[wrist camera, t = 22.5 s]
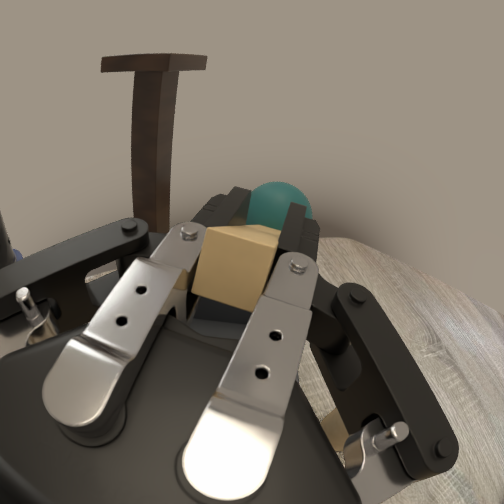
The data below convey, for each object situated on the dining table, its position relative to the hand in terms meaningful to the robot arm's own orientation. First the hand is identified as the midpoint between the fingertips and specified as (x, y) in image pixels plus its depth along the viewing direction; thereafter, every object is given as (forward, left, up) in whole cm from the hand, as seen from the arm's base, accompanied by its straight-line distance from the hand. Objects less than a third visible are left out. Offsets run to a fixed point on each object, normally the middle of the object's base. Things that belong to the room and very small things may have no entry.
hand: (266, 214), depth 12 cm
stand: (-10, +14, -25) cm, 31 cm away
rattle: (0, +1, -4) cm, 4 cm away
